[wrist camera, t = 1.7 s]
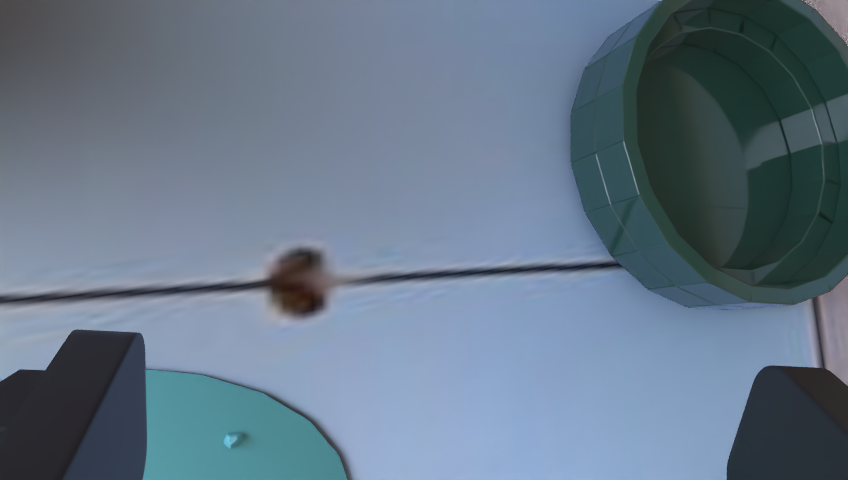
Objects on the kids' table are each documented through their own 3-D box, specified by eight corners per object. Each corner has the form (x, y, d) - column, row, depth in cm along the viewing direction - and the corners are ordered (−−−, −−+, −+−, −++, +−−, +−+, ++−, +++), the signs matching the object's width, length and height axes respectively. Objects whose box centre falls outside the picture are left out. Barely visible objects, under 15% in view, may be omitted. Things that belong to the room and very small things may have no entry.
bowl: (506, 98, 33) (559, 62, 29) (711, -27, 38) (781, -73, 34) (670, 370, 34) (745, 373, 30) (848, 211, 39) (932, 195, 35)
